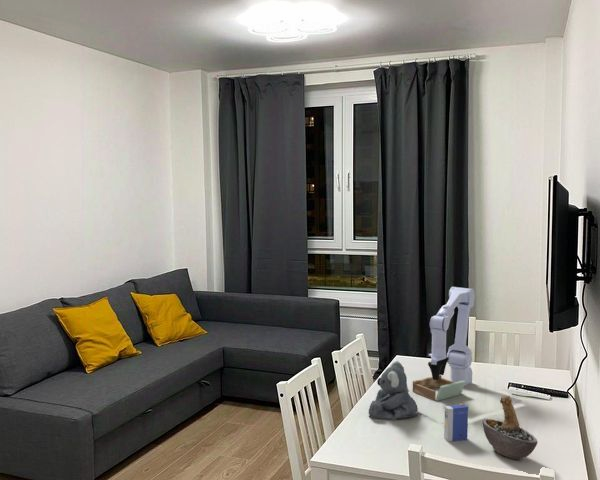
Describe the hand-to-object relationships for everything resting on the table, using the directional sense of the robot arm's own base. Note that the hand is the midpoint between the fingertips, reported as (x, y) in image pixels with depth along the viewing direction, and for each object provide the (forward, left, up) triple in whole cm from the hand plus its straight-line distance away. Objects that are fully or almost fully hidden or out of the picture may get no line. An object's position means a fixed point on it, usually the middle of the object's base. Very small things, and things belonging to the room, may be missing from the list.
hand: (438, 377), depth 245 cm
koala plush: (+25, +1, -10) cm, 27 cm away
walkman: (+23, +30, -10) cm, 39 cm away
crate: (-4, -5, -10) cm, 12 cm away
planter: (+18, +48, -10) cm, 53 cm away
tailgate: (-4, +2, -9) cm, 10 cm away
